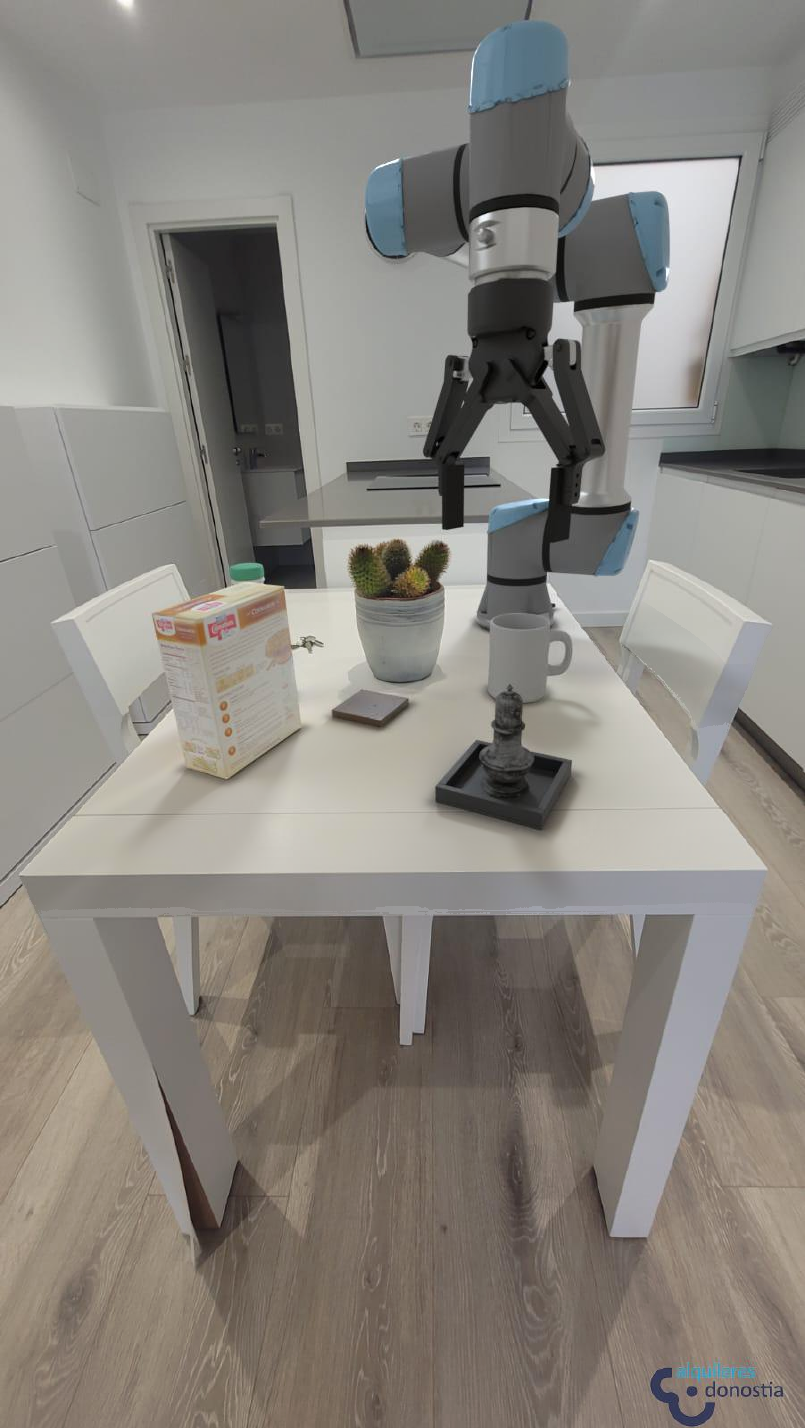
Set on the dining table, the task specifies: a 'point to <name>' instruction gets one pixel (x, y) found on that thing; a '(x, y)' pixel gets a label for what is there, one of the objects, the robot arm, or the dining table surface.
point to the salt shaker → (507, 749)
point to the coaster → (370, 707)
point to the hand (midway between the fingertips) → (501, 534)
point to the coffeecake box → (229, 675)
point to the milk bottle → (247, 573)
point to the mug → (523, 655)
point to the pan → (525, 810)
